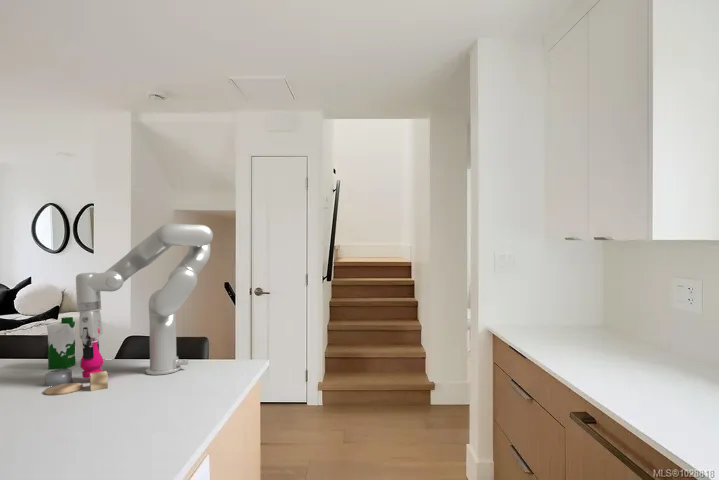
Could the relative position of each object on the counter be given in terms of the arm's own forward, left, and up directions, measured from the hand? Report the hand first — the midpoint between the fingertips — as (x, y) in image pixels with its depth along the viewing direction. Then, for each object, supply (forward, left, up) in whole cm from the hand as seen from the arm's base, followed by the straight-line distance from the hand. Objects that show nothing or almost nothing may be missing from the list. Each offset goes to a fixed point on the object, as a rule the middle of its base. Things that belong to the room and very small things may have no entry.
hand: (91, 356), depth 167 cm
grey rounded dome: (+11, -1, -9) cm, 14 cm away
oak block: (-5, +10, -9) cm, 15 cm away
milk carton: (+19, -27, -9) cm, 34 cm away
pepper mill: (0, 0, -7) cm, 7 cm away
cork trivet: (+6, +9, -9) cm, 14 cm away
